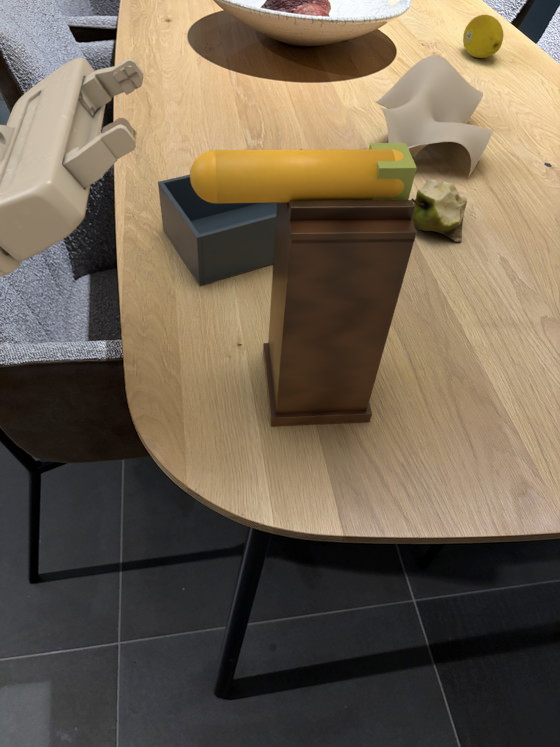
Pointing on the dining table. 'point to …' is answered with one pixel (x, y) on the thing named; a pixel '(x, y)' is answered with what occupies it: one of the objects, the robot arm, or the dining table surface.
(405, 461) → the dining table surface
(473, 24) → the lemon
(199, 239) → the blue-grey open box
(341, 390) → the pedestal
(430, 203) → the fruit
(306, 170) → the corn cob
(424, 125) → the sculpture
